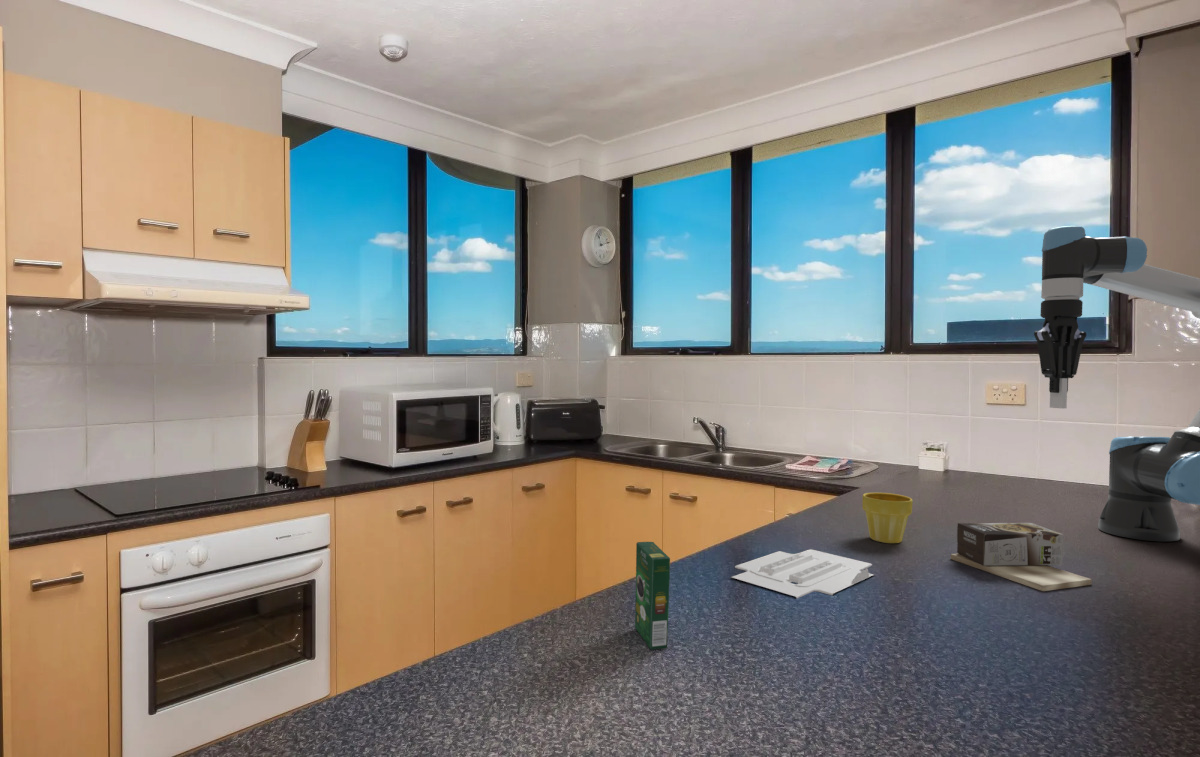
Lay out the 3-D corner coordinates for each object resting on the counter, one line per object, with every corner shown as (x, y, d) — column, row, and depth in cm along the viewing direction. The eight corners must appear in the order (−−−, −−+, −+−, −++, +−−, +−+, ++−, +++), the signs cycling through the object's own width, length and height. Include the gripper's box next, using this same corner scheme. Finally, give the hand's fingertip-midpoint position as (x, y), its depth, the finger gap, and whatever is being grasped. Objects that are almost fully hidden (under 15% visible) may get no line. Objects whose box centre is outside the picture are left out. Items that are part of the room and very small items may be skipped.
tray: (714, 577, 127) (715, 557, 127) (794, 554, 146) (795, 537, 146) (815, 608, 112) (816, 585, 112) (888, 578, 131) (889, 559, 131)
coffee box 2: (1064, 533, 131) (985, 534, 130) (1063, 566, 131) (983, 567, 130) (1031, 521, 140) (956, 521, 139) (1030, 552, 140) (955, 553, 139)
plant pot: (902, 534, 158) (903, 492, 157) (918, 546, 147) (919, 502, 147) (856, 532, 159) (857, 491, 158) (869, 545, 148) (870, 500, 148)
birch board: (995, 554, 142) (995, 549, 142) (1091, 584, 124) (1091, 579, 123) (950, 558, 139) (950, 554, 138) (1042, 591, 120) (1043, 585, 120)
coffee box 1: (670, 649, 94) (671, 556, 94) (650, 651, 93) (651, 557, 93) (652, 627, 102) (653, 540, 101) (634, 628, 101) (635, 541, 101)
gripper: (1066, 301, 153) (1062, 406, 154) (1023, 299, 149) (1020, 407, 150) (1100, 299, 146) (1096, 408, 147) (1056, 296, 142) (1052, 409, 143)
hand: (1057, 407), depth 148 cm, fingers closed
